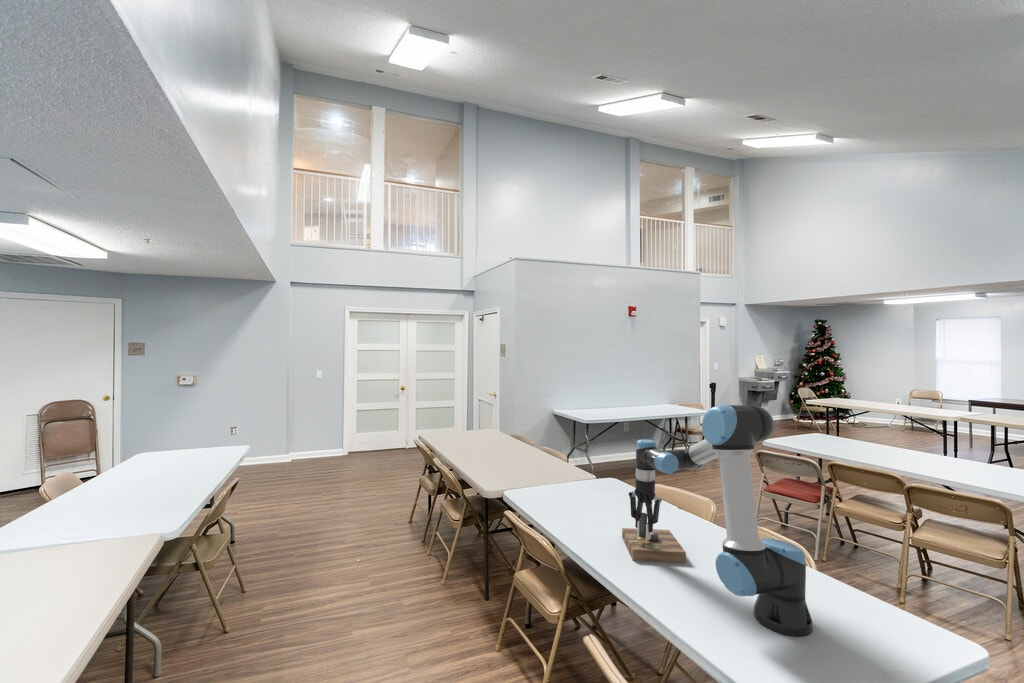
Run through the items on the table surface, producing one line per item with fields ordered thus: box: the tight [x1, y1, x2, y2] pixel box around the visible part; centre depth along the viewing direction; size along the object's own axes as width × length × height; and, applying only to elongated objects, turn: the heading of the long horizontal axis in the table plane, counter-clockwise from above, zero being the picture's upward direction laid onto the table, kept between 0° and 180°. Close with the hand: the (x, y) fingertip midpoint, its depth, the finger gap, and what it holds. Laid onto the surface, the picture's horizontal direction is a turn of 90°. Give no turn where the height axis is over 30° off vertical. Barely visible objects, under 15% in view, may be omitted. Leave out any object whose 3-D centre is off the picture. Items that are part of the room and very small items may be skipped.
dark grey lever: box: [637, 512, 659, 542], centre depth 183 cm, size 5×12×11 cm, turn 129°
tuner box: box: [621, 527, 687, 564], centre depth 185 cm, size 22×20×4 cm
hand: (643, 537), depth 182 cm, fingers open, 3 cm apart
